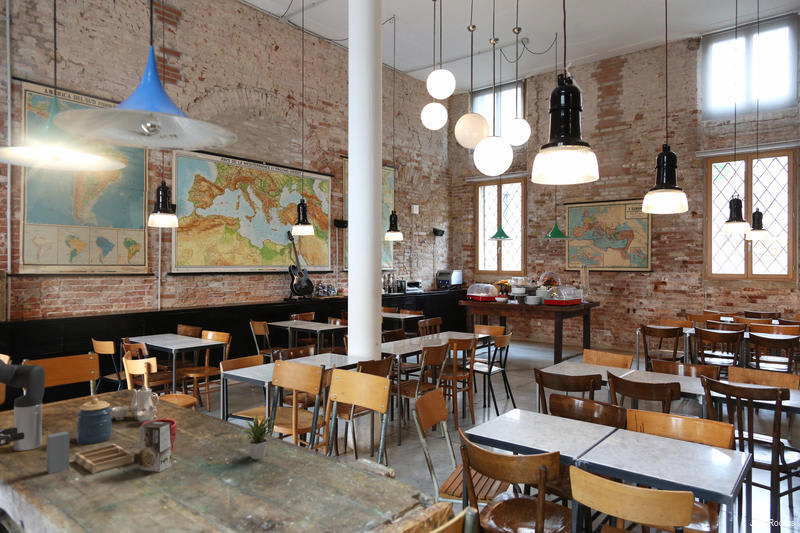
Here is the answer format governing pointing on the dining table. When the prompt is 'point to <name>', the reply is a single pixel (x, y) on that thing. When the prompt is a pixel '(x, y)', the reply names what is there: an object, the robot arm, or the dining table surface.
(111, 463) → the tray
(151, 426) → the coffee box
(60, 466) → the gray rectangular block
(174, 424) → the plant pot
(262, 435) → the house plant
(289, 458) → the dining table surface
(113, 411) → the chinaware
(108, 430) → the canister
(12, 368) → the robot arm
